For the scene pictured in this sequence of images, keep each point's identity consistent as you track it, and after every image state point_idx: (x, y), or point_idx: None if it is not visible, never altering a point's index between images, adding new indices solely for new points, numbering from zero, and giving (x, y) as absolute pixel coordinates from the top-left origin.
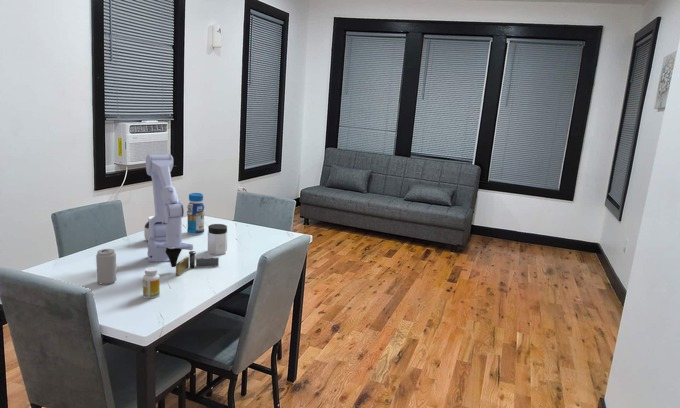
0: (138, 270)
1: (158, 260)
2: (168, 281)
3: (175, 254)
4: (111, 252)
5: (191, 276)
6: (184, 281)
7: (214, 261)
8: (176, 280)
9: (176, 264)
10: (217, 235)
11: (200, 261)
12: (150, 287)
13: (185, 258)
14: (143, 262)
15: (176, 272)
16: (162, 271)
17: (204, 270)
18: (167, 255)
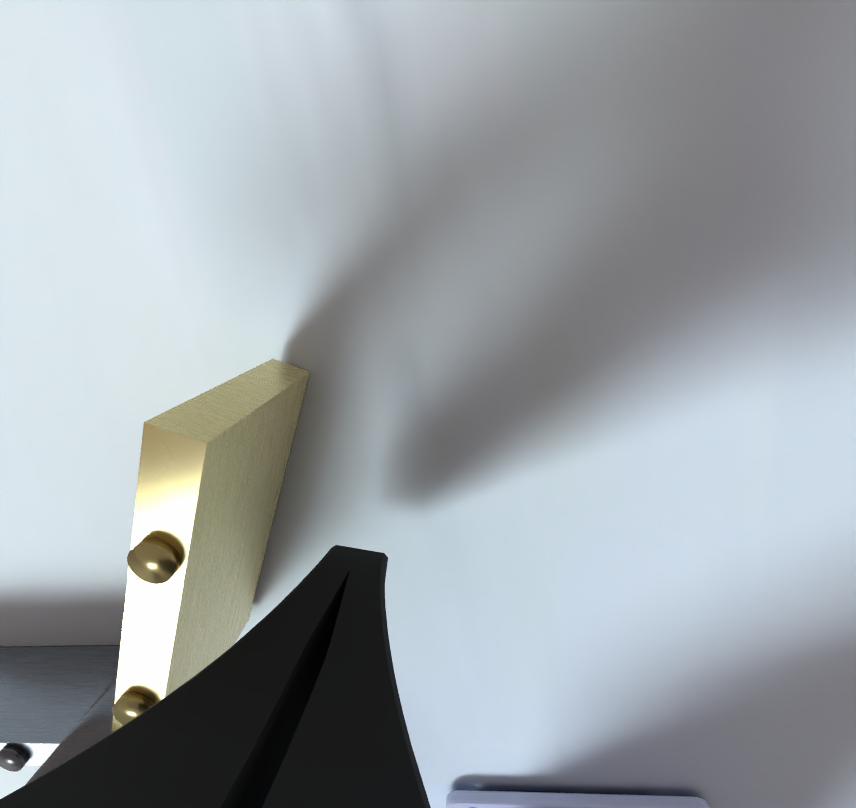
0: (841, 582)
1: (592, 805)
2: (380, 132)
3: (107, 801)
4: None
5: (105, 350)
6: (132, 135)
7: None
8: (265, 182)
9: (195, 440)
10: None
11: (62, 706)
12: None
13: (121, 720)
14: (754, 786)
15: (283, 381)
16: (519, 535)
17: (31, 540)
18: (422, 792)
